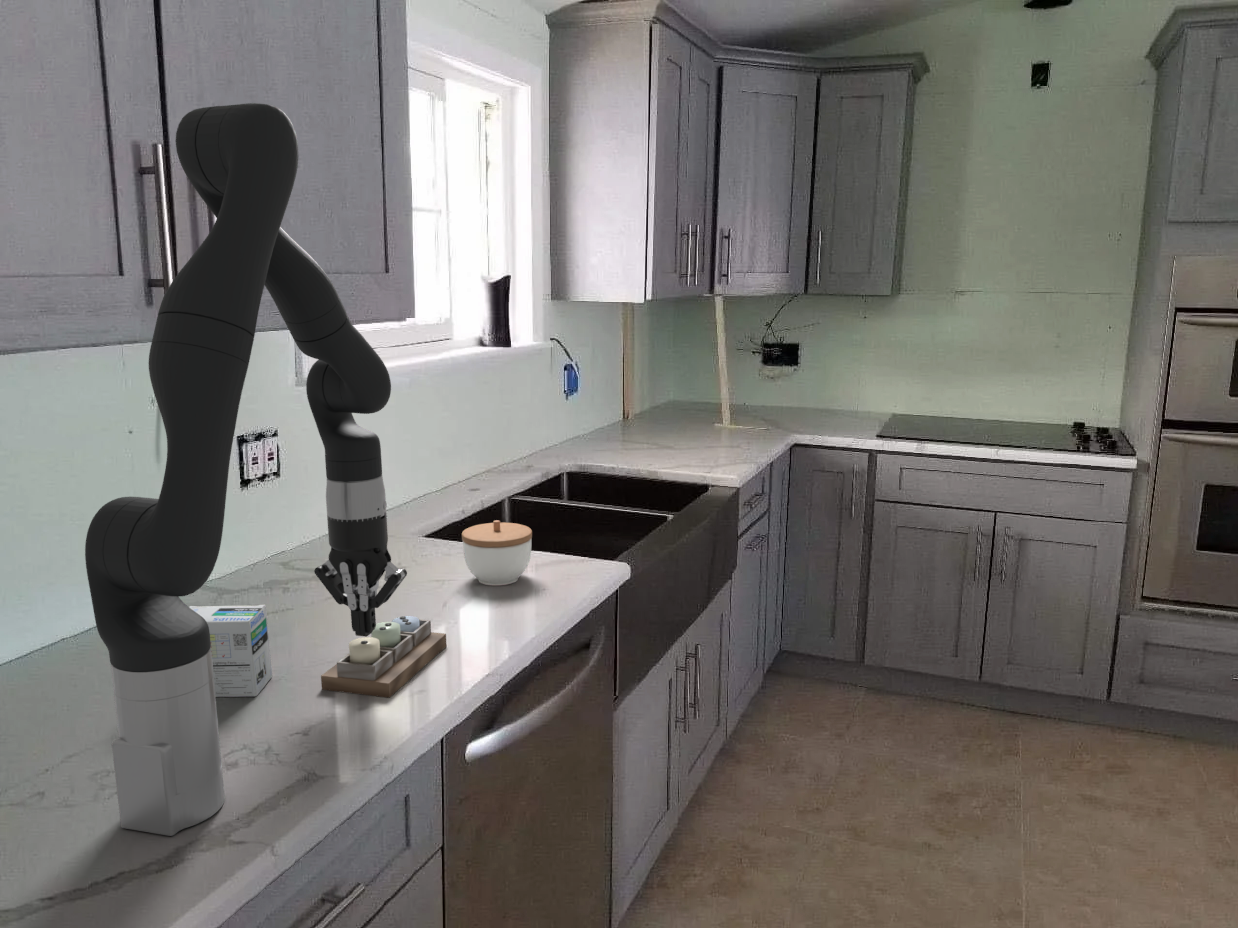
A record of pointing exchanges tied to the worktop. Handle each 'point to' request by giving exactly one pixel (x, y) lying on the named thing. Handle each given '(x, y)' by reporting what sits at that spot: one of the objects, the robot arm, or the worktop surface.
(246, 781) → the worktop surface
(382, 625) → the two-pip button
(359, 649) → the one-pip button
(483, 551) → the lidded bowl
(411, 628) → the three-pip button
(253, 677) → the light bulb box
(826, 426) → the worktop surface
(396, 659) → the button panel
